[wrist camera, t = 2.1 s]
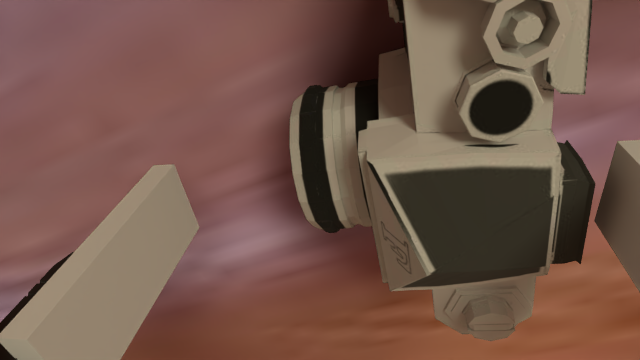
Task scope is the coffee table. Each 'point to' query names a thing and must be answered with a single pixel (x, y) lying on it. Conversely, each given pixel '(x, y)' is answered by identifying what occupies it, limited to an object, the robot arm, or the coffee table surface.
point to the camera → (456, 155)
